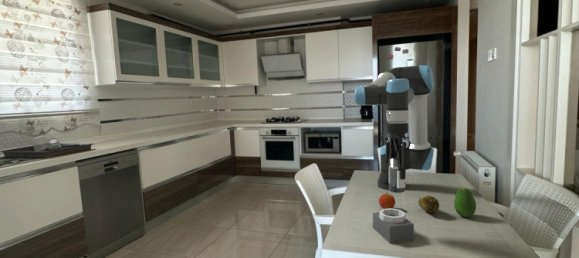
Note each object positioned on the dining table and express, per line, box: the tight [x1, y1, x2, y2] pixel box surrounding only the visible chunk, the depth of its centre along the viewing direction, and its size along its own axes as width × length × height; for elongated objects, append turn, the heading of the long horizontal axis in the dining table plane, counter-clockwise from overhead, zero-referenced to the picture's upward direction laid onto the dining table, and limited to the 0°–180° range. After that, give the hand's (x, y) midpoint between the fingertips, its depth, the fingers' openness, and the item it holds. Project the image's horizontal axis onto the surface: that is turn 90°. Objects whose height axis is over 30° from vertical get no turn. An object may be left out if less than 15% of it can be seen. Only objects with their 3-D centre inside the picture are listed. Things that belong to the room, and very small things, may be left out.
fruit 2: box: [453, 187, 477, 218], centre depth 128 cm, size 8×8×12 cm
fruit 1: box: [378, 193, 396, 209], centre depth 140 cm, size 7×7×8 cm
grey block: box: [372, 208, 415, 244], centre depth 115 cm, size 13×9×8 cm
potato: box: [418, 195, 440, 213], centre depth 135 cm, size 8×13×8 cm, turn 156°
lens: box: [389, 157, 405, 194], centre depth 115 cm, size 5×5×12 cm
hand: (396, 185), depth 115 cm, fingers closed on lens, 5 cm apart
